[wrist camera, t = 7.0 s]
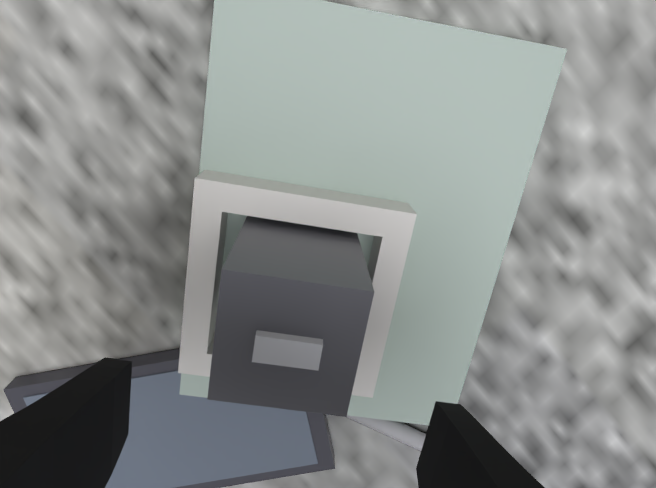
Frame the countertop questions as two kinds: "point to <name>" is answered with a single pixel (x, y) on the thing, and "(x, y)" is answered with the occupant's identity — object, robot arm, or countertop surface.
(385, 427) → the rod
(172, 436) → the phone
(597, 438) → the countertop surface
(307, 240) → the charger block
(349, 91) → the outlet plate
